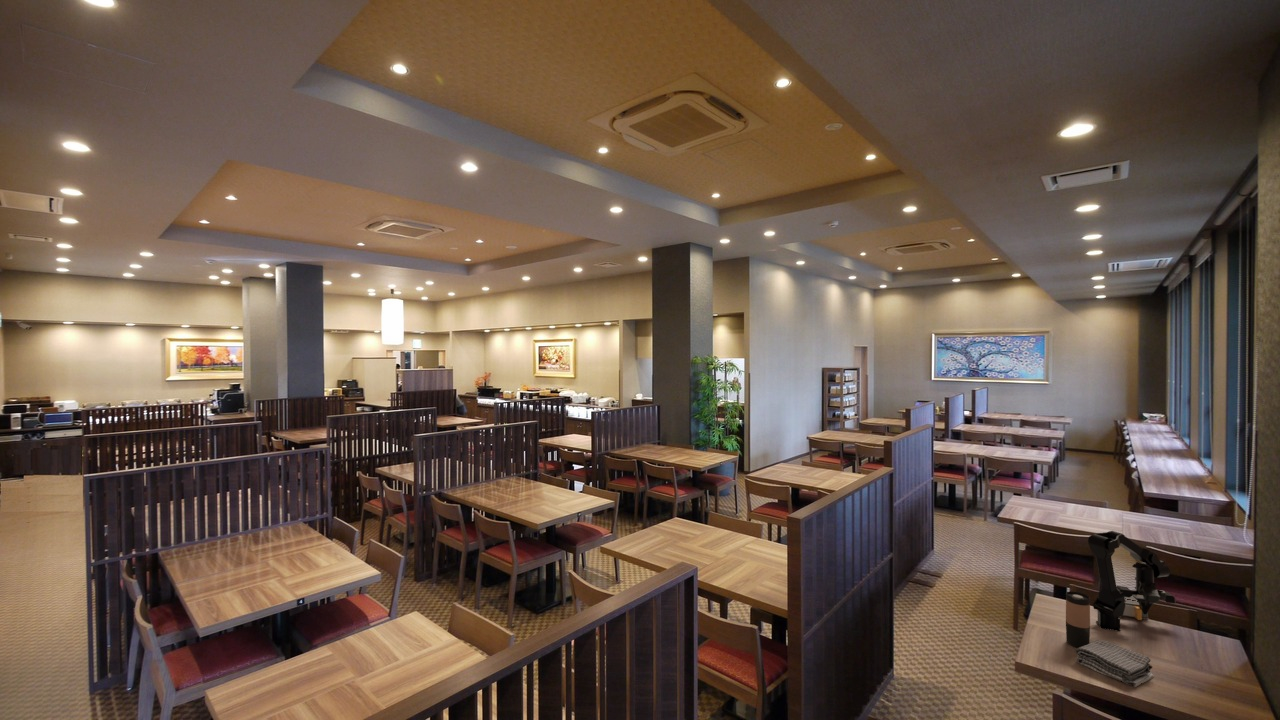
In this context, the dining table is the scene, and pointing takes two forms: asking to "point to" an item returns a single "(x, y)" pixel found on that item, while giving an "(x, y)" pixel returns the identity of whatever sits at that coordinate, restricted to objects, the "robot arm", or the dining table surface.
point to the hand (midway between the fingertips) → (1144, 613)
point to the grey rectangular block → (1133, 611)
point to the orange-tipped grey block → (1130, 602)
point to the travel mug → (1077, 619)
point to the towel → (1115, 662)
